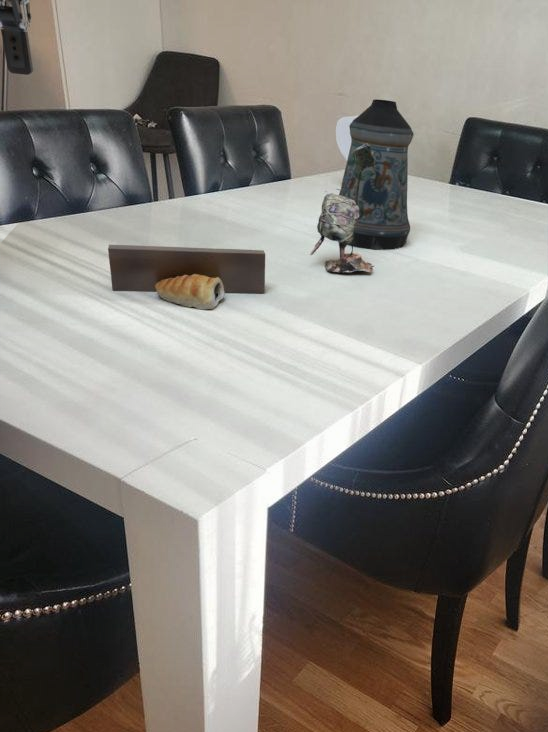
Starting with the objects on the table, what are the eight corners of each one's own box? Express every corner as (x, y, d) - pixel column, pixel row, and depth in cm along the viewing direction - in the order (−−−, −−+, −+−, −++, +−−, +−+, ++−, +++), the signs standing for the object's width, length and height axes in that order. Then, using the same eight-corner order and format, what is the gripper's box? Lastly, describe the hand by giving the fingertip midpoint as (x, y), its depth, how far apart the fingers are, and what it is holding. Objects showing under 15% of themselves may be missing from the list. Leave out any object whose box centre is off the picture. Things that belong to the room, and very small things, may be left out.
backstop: (112, 290, 94) (107, 248, 90) (113, 286, 95) (108, 244, 92) (264, 293, 99) (265, 253, 96) (262, 289, 101) (263, 250, 98)
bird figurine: (315, 258, 118) (323, 136, 107) (376, 267, 118) (390, 145, 107) (306, 270, 112) (313, 141, 101) (371, 279, 111) (385, 150, 100)
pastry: (148, 302, 91) (146, 275, 89) (166, 288, 97) (165, 263, 95) (213, 312, 91) (213, 285, 89) (227, 297, 96) (227, 272, 94)
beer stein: (336, 248, 126) (348, 100, 112) (321, 223, 142) (329, 91, 128) (417, 252, 130) (438, 109, 116) (393, 228, 145) (409, 100, 132)
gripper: (-45, -149, 62) (-7, 66, 71) (-86, -184, 51) (-35, 73, 61) (41, -133, 64) (67, 73, 73) (18, -164, 53) (52, 82, 63)
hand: (21, 73), depth 67 cm, fingers closed
